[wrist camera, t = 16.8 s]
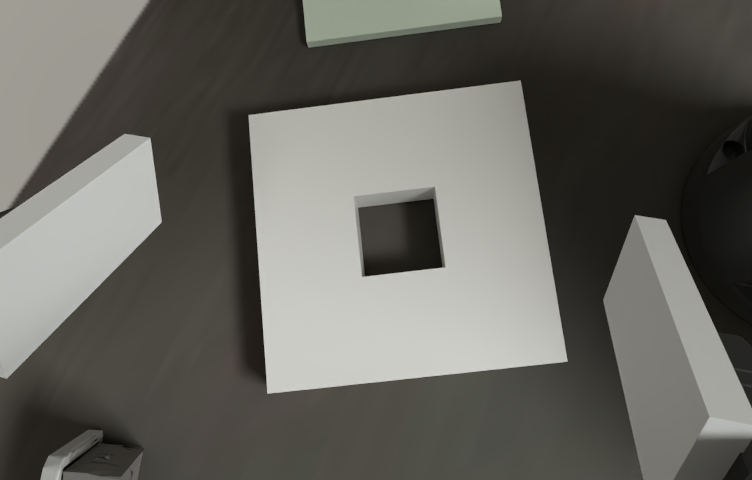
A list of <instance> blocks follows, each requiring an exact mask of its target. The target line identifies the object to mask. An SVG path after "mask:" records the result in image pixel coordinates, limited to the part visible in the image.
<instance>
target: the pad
mask: <svg viewBox="0 0 752 480" xmlns="http://www.w3.org/2000/svg"><path fill="white" fill-rule="evenodd" d="M303 9H304V20H305V31H306V42H307V45H308V48H310V47H318V46H325V45H333V44H341V43H348V42H356V41H363V40H371V39H379V38H386V37H394V36H401V35H409V34H417V33H424V32H432V31H439V30H447V29H455V28H462V27H470V26H477V25H485V24H492V23H500V22H501V19H502V12H501V6H500V0H303Z"/></svg>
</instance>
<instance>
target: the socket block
mask: <svg viewBox="0 0 752 480" xmlns="http://www.w3.org/2000/svg"><path fill="white" fill-rule="evenodd" d="M248 116H249V130H250V145H251V160H252V174H253V189H254V203H255V218H256V233H257V247H258V262H259V277H260V291H261V306H262V321H263V335H264V350H265V364H266V379H267V394H269V393H278V392H288V391H297V390H307V389H316V388H325V387H335V386H344V385H353V384H363V383H372V382H381V381H391V380H400V379H410V378H419V377H428V376H438V375H447V374H456V373H466V372H475V371H484V370H494V369H503V368H513V367H522V366H531V365H541V364H550V363H559V362H568V361H567V355H566V349H565V343H564V337H563V331H562V325H561V319H560V313H559V307H558V301H557V295H556V289H555V283H554V277H553V271H552V265H551V259H550V253H549V247H548V241H547V235H546V229H545V223H544V217H543V211H542V205H541V199H540V193H539V187H538V181H537V175H536V169H535V163H534V157H533V151H532V145H531V139H530V133H529V127H528V121H527V115H526V109H525V103H524V97H523V91H522V85H521V80H520V81H512V82H504V83H497V84H489V85H481V86H473V87H465V88H457V89H450V90H442V91H434V92H426V93H418V94H410V95H402V96H395V97H387V98H379V99H371V100H363V101H355V102H347V103H340V104H332V105H324V106H316V107H308V108H300V109H292V110H285V111H277V112H269V113H261V114H253V115H248ZM427 199H434V207H435V215H436V222H437V230H438V238H439V245H440V253H441V261H442V268H435V269H427V270H418V271H409V272H401V273H392V274H383V275H374V276H366V277H365V270H364V260H363V251H362V241H361V232H360V222H359V212H358V208H360V207H368V206H377V205H385V204H393V203H402V202H410V201H418V200H427Z"/></svg>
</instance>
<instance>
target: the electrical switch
mask: <svg viewBox="0 0 752 480" xmlns="http://www.w3.org/2000/svg"><path fill="white" fill-rule="evenodd" d="M102 439H103V430H87V431H86V432H84V433H83V434H81V435H80V436H78V437H77V438H75V439H73V440H72V441H70V442H69V443H67V444H66V445H64V446H63V447H61V448H60V449H58V450H57V451H55V452H54V453H52V454H50V455H49V456H48V458H47V460H46V463H45V465H44V467H43V471H42V475H41V479H40V480H137V479H138V474H139V469H140V464H141V459H142V454H143V450H144V449H137V448H126V447H124V446H123V445H113V444H105V443H102ZM131 472H132V474H131Z"/></svg>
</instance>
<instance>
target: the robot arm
mask: <svg viewBox="0 0 752 480" xmlns="http://www.w3.org/2000/svg"><path fill="white" fill-rule="evenodd" d="M161 223H162V220H161V213H160V205H159V198H158V191H157V183H156V176H155V168H154V161H153V154H152V146H151V139H150V138H148V137H142V136H136V135H129V134H124V135H122V136H121V137H119V138H118V139H116V140H115V141H114V142H112V143H111V144H109V145H108V146H106V147H105V148H103V149H102V150H100V151H99V152H97V153H96V154H94V155H93V156H91V157H90V158H89V159H87V160H86V161H84V162H83V163H81V164H80V165H78V166H77V167H75V168H74V169H72V170H71V171H69V172H68V173H66V174H65V175H64V176H62V177H61V178H59V179H58V180H56V181H55V182H53V183H52V184H50V185H49V186H47V187H46V188H44V189H43V190H42V191H40V192H39V193H37V194H36V195H34V196H33V197H31V198H30V199H28V200H27V201H25V202H24V203H22V204H21V205H19V206H18V207H17V208H11V209H8V210H5V211H3V212H0V377H2V378H8V377H9V376H10V375H11V374H12V373H13V372H14V371H15V370H16V369H17V368H18V367H19V366H20V365H21V364H22V363H23V362H24V361H25V360H26V359H27V358H28V357H29V356H30V355H31V354H32V353H33V352H34V351H35V350H36V349H37V348H38V347H39V346H40V345H41V344H42V343H43V342H44V341H45V340H46V339H47V338H48V337H49V336H50V335H51V334H52V333H53V332H54V331H55V330H56V329H57V327H58V326H59V325H60V324H61V323H62V322H63V321H64V320H65V319H66V318H67V317H68V316H69V315H70V314H71V313H72V312H73V311H74V310H75V309H76V308H77V307H78V306H79V305H80V304H81V303H82V302H83V301H84V300H85V299H86V298H87V297H88V296H89V295H90V294H91V293H92V292H93V291H94V290H95V289H96V288H97V287H98V286H99V285H100V284H101V283H102V282H103V281H104V280H105V279H106V278H107V277H108V276H109V275H110V274H111V273H112V272H113V271H114V270H115V269H116V268H117V267H118V266H119V265H120V264H121V263H122V262H123V261H124V260H125V259H126V258H127V257H128V256H129V255H130V254H131V253H132V252H133V251H134V250H135V249H136V248H137V247H138V246H139V245H140V244H141V243H142V242H143V241H144V240H145V239H146V238H147V237H148V236H149V235H150V234H151V233H152V232H153V231H154V230H155V229H156V228H157V227H158V226H159V225H160V224H161ZM682 228H683V234H684V239H685V243H686V246H687V249H688V252H689V255H690V257H691V260H692V262H693V264H694V266H695V268H696V270H697V271H698V273H699V275H700V276H701V278H702V279H703V281H704V282H705V284H706V285H707V286H708V288H709V289H710V290H711V291H712V293H713V294H714V295H715V296H716V297H717V298H718V299H719V300H720V301H721V302H722V303H723V304H724V305H725V306H727V307H728V308H729V309H730V310H731V311H733V312H734V313H735V314H737V315H738V316H740V317H741V318H743V319H744V320H746V321H747V322H749V323H751V324H752V115H751V116H749V117H747V118H746V119H744V120H742V121H741V122H739V123H738V124H736V125H735V126H734V127H732V128H731V129H729V130H728V131H726V132H725V133H724V134H722V135H721V136H719V137H718V138H717V139H716V140H715V141H713V142H712V143H711V144H710V145H709V146H708V147H707V149H706V150H705V151H704V152H703V153H702V155H701V156H700V157H699V159H698V160H697V162H696V163H695V165H694V167H693V169H692V171H691V173H690V175H689V178H688V180H687V183H686V186H685V190H684V195H683V201H682ZM603 302H604V306H605V311H606V315H607V320H608V324H609V329H610V333H611V338H612V342H613V347H614V351H615V355H616V360H617V364H618V369H619V373H620V378H621V382H622V387H623V391H624V396H625V400H626V405H627V409H628V414H629V418H630V423H631V427H632V432H633V436H634V441H635V445H636V450H637V454H638V458H639V463H640V467H641V472H642V476H643V480H752V346H751V345H750V344H749V343H748V342H747V341H746V340H745V339H744V338H743V337H742V336H738V335H732V334H727V333H721V332H717V331H716V329H715V326H714V324H713V322H712V320H711V318H710V315H709V313H708V311H707V309H706V307H705V304H704V302H703V300H702V298H701V296H700V293H699V291H698V289H697V287H696V285H695V283H694V280H693V278H692V276H691V274H690V272H689V269H688V267H687V265H686V263H685V261H684V258H683V256H682V254H681V252H680V250H679V247H678V245H677V243H676V241H675V239H674V236H673V234H672V232H671V230H670V228H669V226H668V223H667V221H666V220H663V219H657V218H650V217H644V216H638V215H635V216H634V218H633V221H632V224H631V226H630V229H629V232H628V234H627V237H626V240H625V243H624V245H623V248H622V251H621V253H620V256H619V259H618V261H617V264H616V267H615V269H614V272H613V275H612V278H611V280H610V283H609V286H608V288H607V291H606V294H605V296H604V299H603Z"/></svg>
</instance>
